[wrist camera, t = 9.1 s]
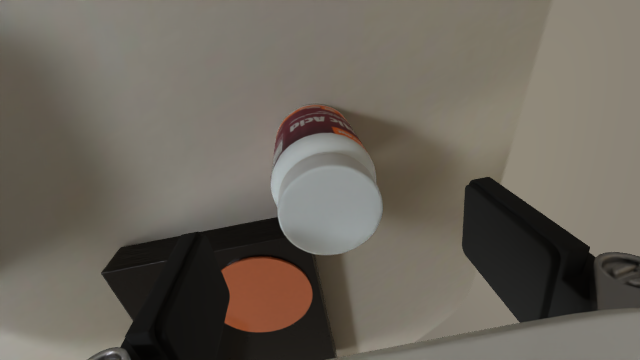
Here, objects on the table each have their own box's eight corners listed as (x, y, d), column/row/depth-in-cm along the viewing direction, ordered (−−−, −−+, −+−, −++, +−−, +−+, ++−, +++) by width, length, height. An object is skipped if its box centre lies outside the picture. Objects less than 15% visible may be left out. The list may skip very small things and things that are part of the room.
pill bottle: (358, 106, 18) (408, 162, 11) (344, 178, 20) (378, 266, 13) (278, 97, 17) (271, 148, 10) (272, 171, 19) (263, 261, 12)
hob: (101, 250, 21) (77, 279, 18) (304, 211, 21) (307, 234, 19) (191, 389, 29) (182, 421, 26) (337, 360, 29) (342, 389, 26)
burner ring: (193, 268, 19) (193, 270, 19) (302, 247, 19) (302, 249, 19) (227, 337, 22) (226, 340, 22) (319, 319, 22) (320, 322, 22)
